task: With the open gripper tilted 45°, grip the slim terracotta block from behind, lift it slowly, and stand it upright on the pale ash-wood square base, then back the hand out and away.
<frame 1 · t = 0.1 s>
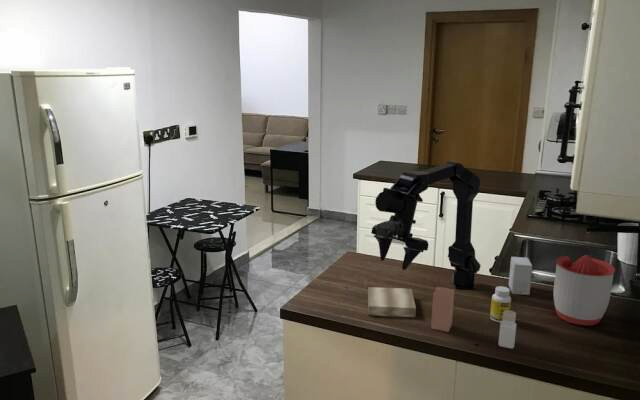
hand: (392, 265, 155), 15 cm above the worktop, tool pointing down, fingers open, 9 cm apart
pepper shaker: (506, 345, 140), on the worktop
small box: (518, 290, 175), on the worktop
citrus juicer: (576, 316, 157), on the worktop
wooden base: (390, 305, 163), on the worktop
supplement bottle: (499, 319, 155), on the worktop
terracotta block: (441, 326, 150), on the worktop
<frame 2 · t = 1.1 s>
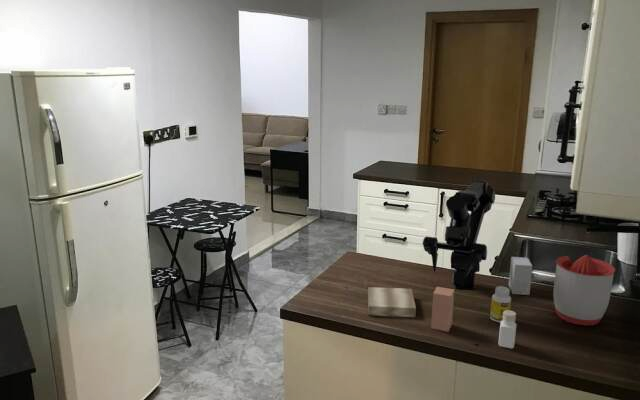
hand: (449, 273, 154), 13 cm above the worktop, tool tilted 45°, fingers open, 9 cm apart
nothing on the worktop moved.
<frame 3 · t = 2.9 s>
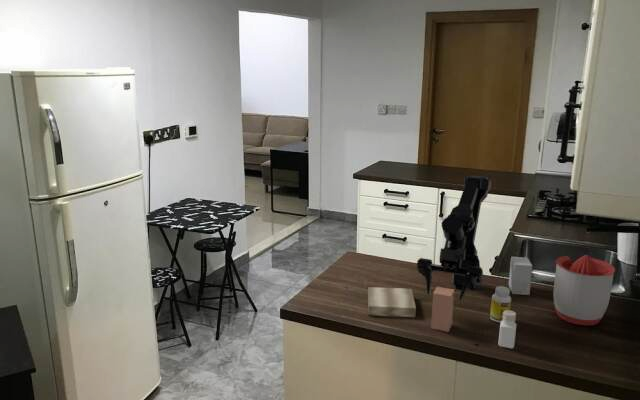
hand: (444, 297, 149), 9 cm above the worktop, tool tilted 45°, fingers open, 9 cm apart
nothing on the worktop moved.
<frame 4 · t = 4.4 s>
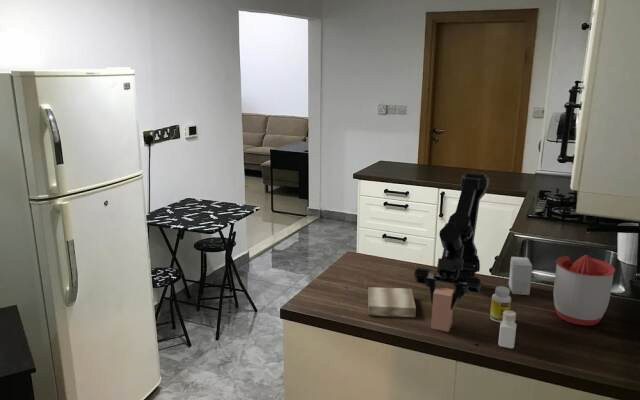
hand: (441, 307, 147), 7 cm above the worktop, tool tilted 45°, fingers closed on terracotta block, 5 cm apart
terracotta block: (441, 326, 150), on the worktop, touching gripper
everything else where it was.
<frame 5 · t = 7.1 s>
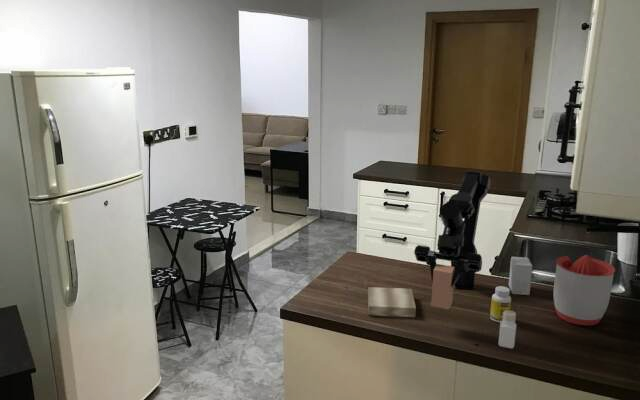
hand: (442, 284, 146), 13 cm above the worktop, tool tilted 45°, fingers closed on terracotta block, 5 cm apart
terracotta block: (441, 304, 148), point 7 cm above the worktop, touching gripper
everything else where it was.
when the fingers open (11 cm above the worktop, at t = 9.9 s): terracotta block drops 1 cm, resting on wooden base.
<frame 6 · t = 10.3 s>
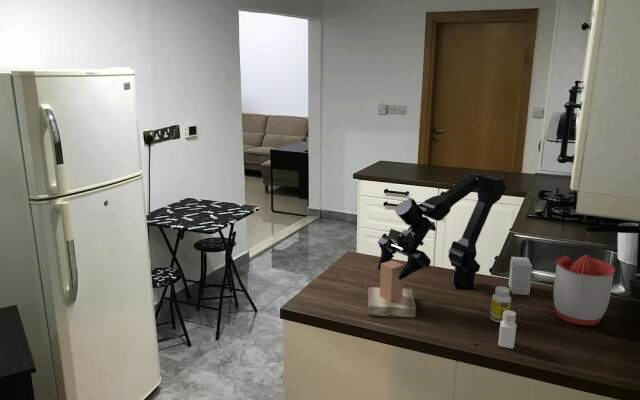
hand: (388, 274, 159), 11 cm above the worktop, tool tilted 45°, fingers open, 9 cm apart
terracotta block: (390, 297, 162), point 3 cm above the worktop, touching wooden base
everything else where it was.
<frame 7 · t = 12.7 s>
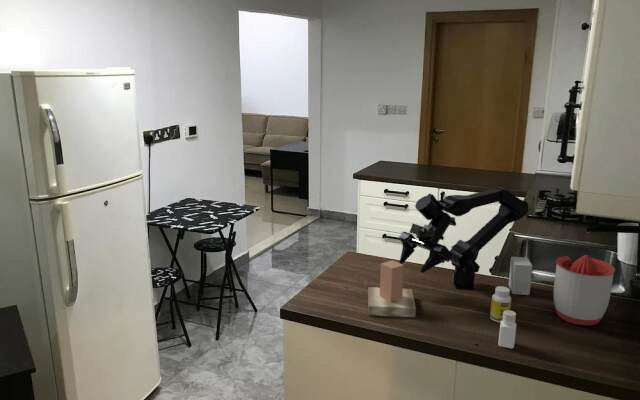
hand: (410, 267, 164), 11 cm above the worktop, tool tilted 45°, fingers open, 9 cm apart
nothing on the worktop moved.
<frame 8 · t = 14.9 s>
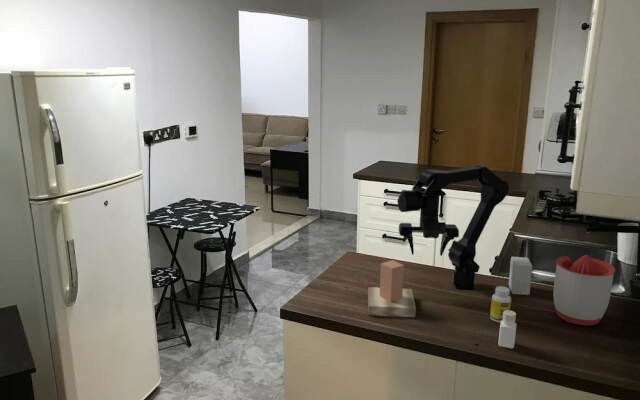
hand: (426, 254, 170), 13 cm above the worktop, tool pointing down, fingers open, 9 cm apart
nothing on the worktop moved.
at the end: terracotta block inside the target area on the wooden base (0.0 cm from its centre), point 3.0 cm above the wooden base's base; terracotta block tilted 0°; the gripper is holding nothing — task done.
